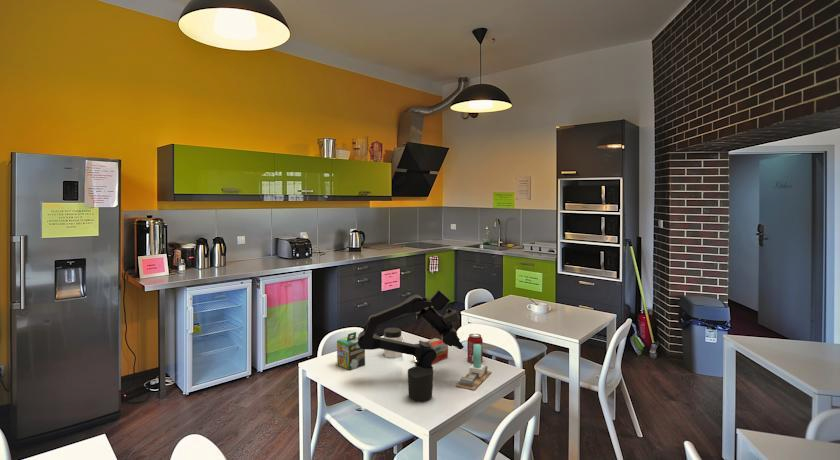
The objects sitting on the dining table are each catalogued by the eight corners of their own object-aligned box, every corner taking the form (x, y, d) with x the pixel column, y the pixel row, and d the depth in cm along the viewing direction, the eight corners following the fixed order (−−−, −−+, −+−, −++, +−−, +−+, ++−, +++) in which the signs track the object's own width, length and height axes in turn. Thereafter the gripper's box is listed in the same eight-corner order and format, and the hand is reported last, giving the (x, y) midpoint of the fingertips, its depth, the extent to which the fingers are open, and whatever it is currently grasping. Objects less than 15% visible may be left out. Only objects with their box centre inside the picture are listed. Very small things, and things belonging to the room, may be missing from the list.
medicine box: (435, 353, 212) (435, 337, 212) (448, 358, 207) (448, 341, 206) (413, 362, 201) (413, 345, 201) (426, 366, 196) (426, 349, 195)
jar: (391, 359, 204) (391, 333, 204) (379, 355, 210) (379, 330, 209) (405, 354, 211) (405, 329, 210) (394, 350, 216) (394, 326, 216)
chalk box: (353, 360, 204) (352, 328, 203) (365, 365, 198) (365, 332, 197) (336, 365, 197) (335, 332, 196) (349, 370, 191) (348, 336, 190)
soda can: (481, 364, 198) (482, 337, 198) (466, 363, 200) (466, 337, 199) (482, 359, 205) (483, 333, 204) (468, 358, 206) (468, 332, 205)
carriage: (480, 377, 181) (481, 347, 180) (469, 375, 184) (469, 345, 183) (484, 373, 186) (485, 344, 185) (473, 371, 188) (473, 342, 187)
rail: (474, 390, 171) (474, 382, 171) (455, 386, 175) (455, 378, 174) (491, 372, 188) (491, 365, 188) (473, 369, 192) (473, 362, 192)
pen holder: (425, 390, 172) (425, 364, 171) (437, 399, 163) (437, 372, 163) (403, 395, 167) (403, 368, 167) (415, 405, 159) (415, 377, 158)
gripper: (450, 310, 173) (479, 336, 174) (444, 299, 191) (470, 323, 193) (430, 331, 172) (459, 357, 174) (426, 318, 191) (452, 342, 193)
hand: (460, 344), depth 183 cm, fingers open, 9 cm apart
